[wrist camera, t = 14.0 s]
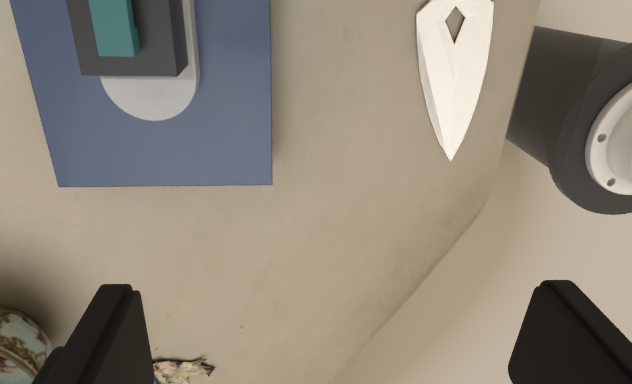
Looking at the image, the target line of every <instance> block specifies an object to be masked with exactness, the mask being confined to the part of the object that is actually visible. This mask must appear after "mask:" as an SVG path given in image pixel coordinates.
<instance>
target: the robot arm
mask: <svg viewBox="0 0 632 384" xmlns="http://www.w3.org/2000/svg"><path fill="white" fill-rule="evenodd" d="M585 162H586V166H587V170H588V172H589V173H590V175H591V177H592V178H593V179H594V180H595V181H596V182H597V183H598V184H599V185H601V186H602V187H604V188H605V189H607V190H609V191H611V192H614V193H617V194H623V195H632V83H630V84H629V85H627V86H626V87H625V88H623V89H622V90H620V91H619V92H618V93H617V94H616V95H615V96H614V97H613V98H612V99H611V100H610V101H609V102H608V103H607V104H606V105H605V106H604V108H603V109H602V110H601V111H600V113H599V114H598V116H597V117H596V119H595V121H594V123H593V124H592V126H591V129H590V131H589V134H588V137H587V141H586V146H585ZM508 372H509V376H510V379H511V381H512V383H513V384H632V343H631V342H630V341H629V340H628V339H627V338H626V337H625V335H624V334H623V333H621V331H620V330H619V329H618V328H617V327H616V326H615V325H614V324H613V323H612V322H611V321H610V320H609V319H608V318H607V317H606V316H605V315H604V314H603V313H602V312H601V311H600V309H599V308H597V307H596V305H595V304H594V303H593V302H592V301H591V300H590V299H589V298H588V297H587V296H586V295H585V294H584V293H583V292H582V291H581V290H580V289H579V288H578V287H577V286H576V285H575V284H574V283H573V282H572V281H569V280H546V281H543V282H542V283H541V284H540V286H539V287H536V288H535V289H534V292H533V294H532V297H531V300H530V303H529V306H528V309H527V312H526V315H525V317H524V320H523V323H522V326H521V329H520V332H519V335H518V338H517V340H516V343H515V346H514V349H513V352H512V355H511V358H510V361H509V364H508ZM154 380H155V375H154V368H153V362H152V357H151V351H150V345H149V340H148V334H147V328H146V322H145V317H144V311H143V305H142V300H141V295H140V292H139V291H133V290H132V287H131V285H129V284H103V285H101V286H100V288H99V289H98V291H97V292H96V294H95V296H94V297H93V299H92V301H91V302H90V304H89V306H88V308H87V309H86V311H85V313H84V314H83V316H82V318H81V319H80V321H79V323H78V325H77V326H76V328H75V330H74V331H73V333H72V335H71V336H70V338H69V340H68V341H67V343H66V345H65V346H64V347H57V348H55V349H54V350H53V351H52V352H51V353H50V355H49V356H48V357H47V359H46V360H45V362H44V364H43V365H42V367H41V368H40V370H39V372H38V373H37V375H36V377H35V378H34V380H33V381H32V383H31V384H154Z"/></svg>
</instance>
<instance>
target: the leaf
mask: <svg viewBox="0 0 632 384" xmlns="http://www.w3.org/2000/svg"><path fill="white" fill-rule="evenodd" d="M157 350H158V349H156V350H155V351H157ZM205 360H207V358H203V359H200V360H197V361H195V362H183V363H181V362H172V361H165V362H157V363H154V364H153V368H154V375H155V380H154V384H188V381H187V377H188V375H193V374H208V376H210V374H211V373H212V371H213V370H214V368H215V367H213V366H203V365H201V362H203V361H205Z"/></svg>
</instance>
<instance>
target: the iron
mask: <svg viewBox="0 0 632 384" xmlns="http://www.w3.org/2000/svg"><path fill="white" fill-rule="evenodd" d="M66 4H67V8H68V13H69V18H70V23H71V27H72V32H73V37H74V42H75V46H76V51H77V56H78V61H79V65H80V70H81V75H87V76H100V78H101V82H102V84H103V87H104V89H105V91H106V93H107V94H108V96H109V97H110V98H111V99H112V101H113V102H114V103H115V104H116V105H117V106H118V107H119V108H121V109H122V110H124V111H125V112H127V113H128V114H130V115H132V116H135V117H137V118H140V119H144V120H150V121H160V120H166V119H169V118H172V117H174V116H176V115H178V114H179V113H181V112H182V111H183V110H184V109H185V108H186V107H187V106H188V105H189V104H190V102H191V100H192V99H193V97H194V96H195V94H196V92H197V89H198V87H199V83H200V65H199V54H198V42H197V31H196V19H195V8H194V0H66Z"/></svg>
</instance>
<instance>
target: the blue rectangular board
mask: <svg viewBox="0 0 632 384" xmlns="http://www.w3.org/2000/svg"><path fill="white" fill-rule="evenodd" d="M10 4H11V8H12V12H13V15H14V19H15V23H16V27H17V31H18V34H19V38H20V42H21V46H22V50H23V53H24V57H25V61H26V65H27V69H28V72H29V76H30V80H31V84H32V87H33V91H34V95H35V99H36V103H37V106H38V110H39V114H40V118H41V122H42V125H43V129H44V133H45V137H46V141H47V144H48V148H49V152H50V156H51V159H52V163H53V167H54V171H55V175H56V178H57V182H58V186H59V187H124V186H219V185H272V104H271V23H270V0H194V8H195V19H196V31H197V42H198V54H199V65H200V83H199V87H198V89H197V92H196V94H195V96H194V97H193V99H192V100H191V102H190V104H189V105H188V106H187V107H186V108H185V109H184V110H183V111H182V112H181V113H179V114H178V115H176V116H174V117H172V118H169V119H166V120H160V121H150V120H144V119H140V118H137V117H135V116H132V115H130V114H128V113H127V112H125V111H124V110H122V109H121V108H119V107H118V106H117V105H116V104H115V103H114V102H113V101H112V99H111V98H110V97H109V96H108V94H107V93H106V91H105V89H104V87H103V84H102V82H101V78H100V76H87V75H81V70H80V65H79V61H78V56H77V51H76V46H75V42H74V37H73V32H72V27H71V23H70V18H69V13H68V8H67V4H66V0H10Z"/></svg>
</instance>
